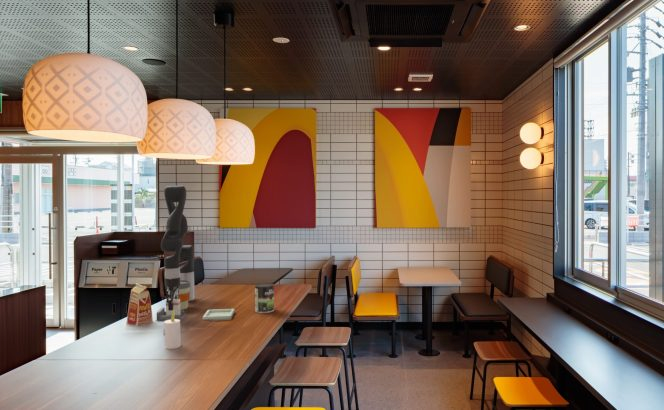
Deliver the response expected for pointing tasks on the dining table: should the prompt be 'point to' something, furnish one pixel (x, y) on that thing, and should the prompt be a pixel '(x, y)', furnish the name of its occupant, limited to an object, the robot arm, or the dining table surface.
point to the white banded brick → (174, 307)
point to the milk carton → (139, 306)
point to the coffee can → (264, 298)
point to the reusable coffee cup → (183, 293)
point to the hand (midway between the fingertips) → (173, 308)
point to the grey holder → (163, 317)
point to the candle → (172, 333)
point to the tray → (219, 314)
